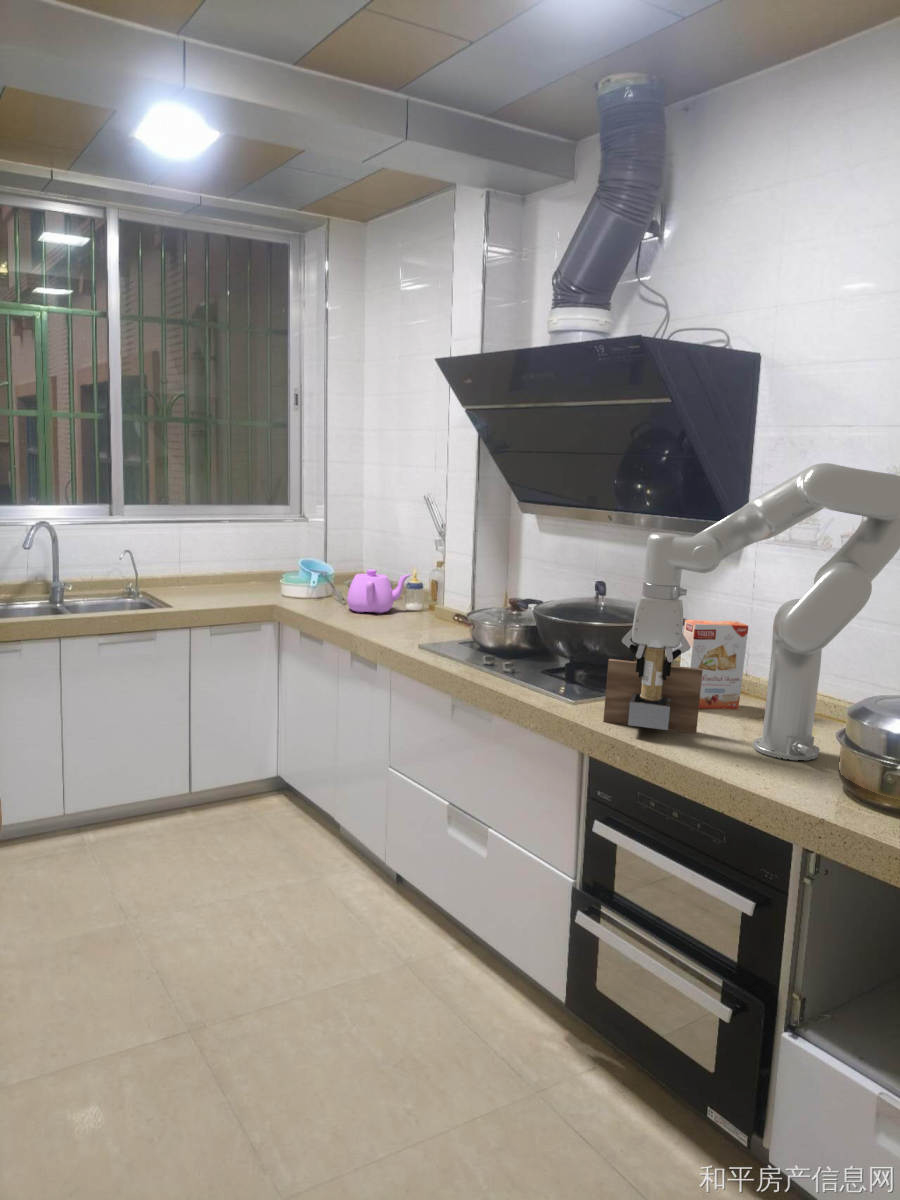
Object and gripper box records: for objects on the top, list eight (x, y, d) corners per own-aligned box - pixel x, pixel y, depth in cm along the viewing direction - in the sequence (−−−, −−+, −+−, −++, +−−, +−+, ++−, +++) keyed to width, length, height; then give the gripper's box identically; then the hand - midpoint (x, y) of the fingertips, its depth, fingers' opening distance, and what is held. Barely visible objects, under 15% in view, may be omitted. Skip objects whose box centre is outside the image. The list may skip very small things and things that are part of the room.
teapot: (344, 615, 317) (346, 572, 314) (348, 605, 337) (349, 565, 335) (410, 618, 318) (412, 576, 316) (409, 608, 339) (411, 568, 336)
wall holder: (695, 745, 189) (702, 679, 187) (598, 732, 194) (604, 668, 192) (696, 731, 199) (702, 668, 197) (604, 719, 204) (609, 658, 202)
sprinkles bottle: (664, 702, 192) (670, 639, 190) (642, 701, 192) (648, 638, 189) (657, 696, 196) (664, 635, 194) (637, 695, 196) (642, 634, 194)
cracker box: (686, 710, 217) (694, 623, 213) (675, 703, 222) (683, 618, 219) (740, 709, 219) (749, 624, 216) (728, 703, 225) (736, 619, 222)
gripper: (702, 594, 192) (693, 678, 195) (621, 586, 196) (614, 669, 199) (702, 598, 185) (693, 686, 188) (618, 590, 189) (610, 676, 192)
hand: (652, 676), depth 193 cm, fingers closed on sprinkles bottle, 4 cm apart
